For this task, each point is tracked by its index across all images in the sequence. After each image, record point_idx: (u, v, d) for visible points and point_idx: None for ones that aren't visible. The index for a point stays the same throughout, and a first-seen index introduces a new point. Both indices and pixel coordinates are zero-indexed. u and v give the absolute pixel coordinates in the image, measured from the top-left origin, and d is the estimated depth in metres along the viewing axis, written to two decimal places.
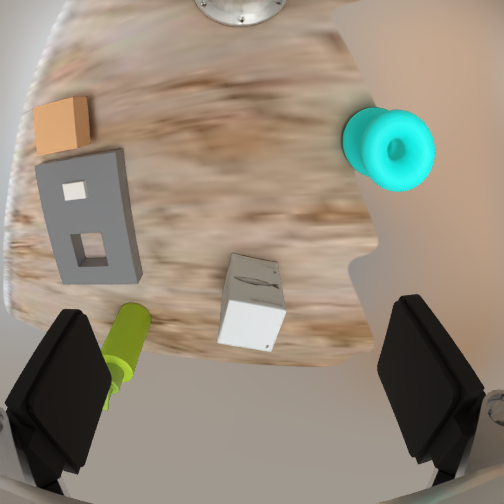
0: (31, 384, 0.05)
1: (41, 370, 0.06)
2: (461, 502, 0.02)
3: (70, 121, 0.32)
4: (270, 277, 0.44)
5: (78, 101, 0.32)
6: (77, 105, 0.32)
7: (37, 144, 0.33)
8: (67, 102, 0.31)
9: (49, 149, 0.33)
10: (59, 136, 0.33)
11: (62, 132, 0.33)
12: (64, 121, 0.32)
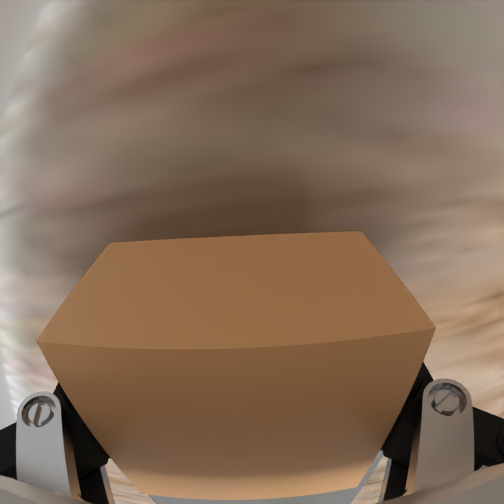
0: None
1: None
2: (461, 502, 0.02)
3: (365, 436, 0.06)
4: None
5: None
6: None
7: (128, 473, 0.07)
8: (383, 359, 0.05)
9: (206, 493, 0.07)
10: (275, 475, 0.06)
11: (299, 467, 0.06)
12: (329, 437, 0.06)
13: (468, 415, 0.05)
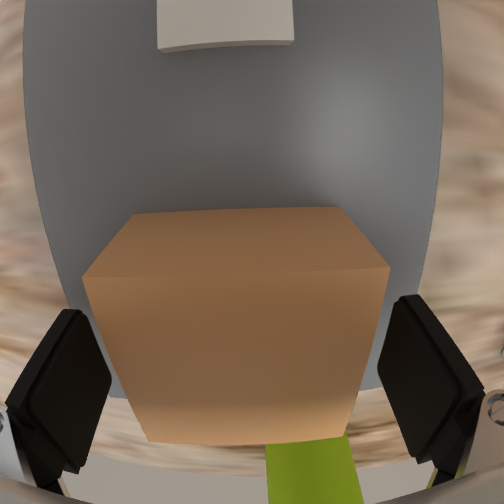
0: (31, 384, 0.05)
1: (41, 370, 0.06)
2: (461, 502, 0.02)
3: (343, 371, 0.08)
4: None
5: None
6: None
7: (140, 415, 0.08)
8: (350, 290, 0.07)
9: (208, 436, 0.09)
10: (269, 413, 0.08)
11: (289, 403, 0.08)
12: (313, 369, 0.08)
13: None
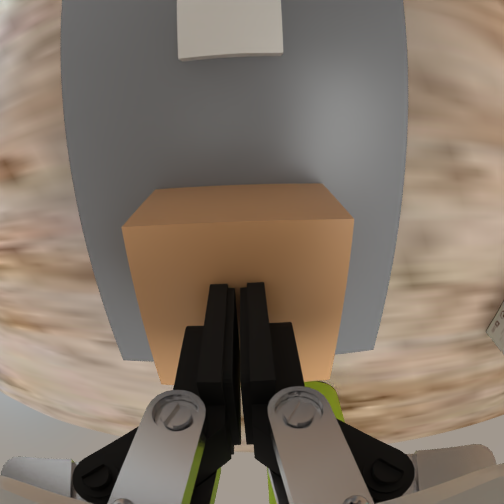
0: (222, 357, 0.07)
1: (224, 342, 0.07)
2: (461, 502, 0.02)
3: (324, 309, 0.10)
4: None
5: None
6: None
7: (156, 355, 0.11)
8: (324, 236, 0.09)
9: None
10: None
11: None
12: (299, 305, 0.10)
13: (330, 419, 0.05)
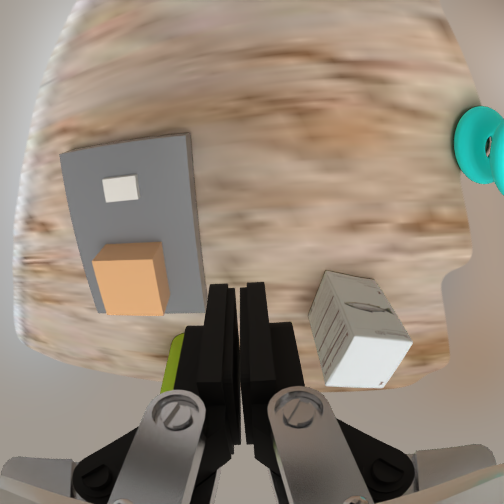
0: (222, 357, 0.07)
1: (224, 342, 0.07)
2: (461, 502, 0.02)
3: (151, 287, 0.31)
4: (379, 299, 0.34)
5: (156, 258, 0.31)
6: (156, 264, 0.31)
7: (104, 302, 0.31)
8: (144, 264, 0.30)
9: (123, 310, 0.32)
10: (137, 300, 0.31)
11: (141, 296, 0.31)
12: (143, 285, 0.31)
13: (330, 419, 0.05)
